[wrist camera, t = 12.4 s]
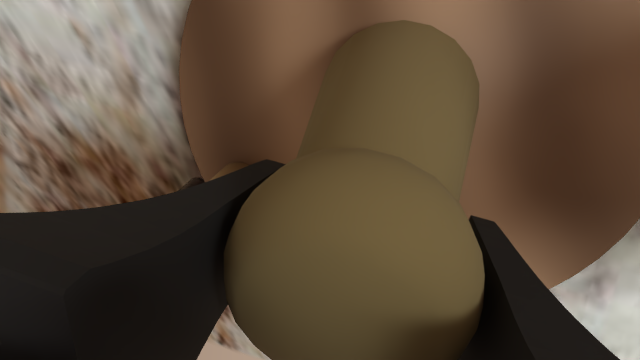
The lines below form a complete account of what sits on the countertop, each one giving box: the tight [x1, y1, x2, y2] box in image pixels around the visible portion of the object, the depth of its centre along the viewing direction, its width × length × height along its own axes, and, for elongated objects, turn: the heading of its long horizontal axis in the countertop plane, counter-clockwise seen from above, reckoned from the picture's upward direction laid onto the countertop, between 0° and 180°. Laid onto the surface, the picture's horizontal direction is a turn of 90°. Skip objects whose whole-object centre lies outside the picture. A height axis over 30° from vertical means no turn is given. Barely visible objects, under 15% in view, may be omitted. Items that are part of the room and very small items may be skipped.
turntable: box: [179, 0, 640, 289], centre depth 16 cm, size 20×20×5 cm
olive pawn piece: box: [224, 20, 485, 360], centre depth 11 cm, size 6×6×11 cm
